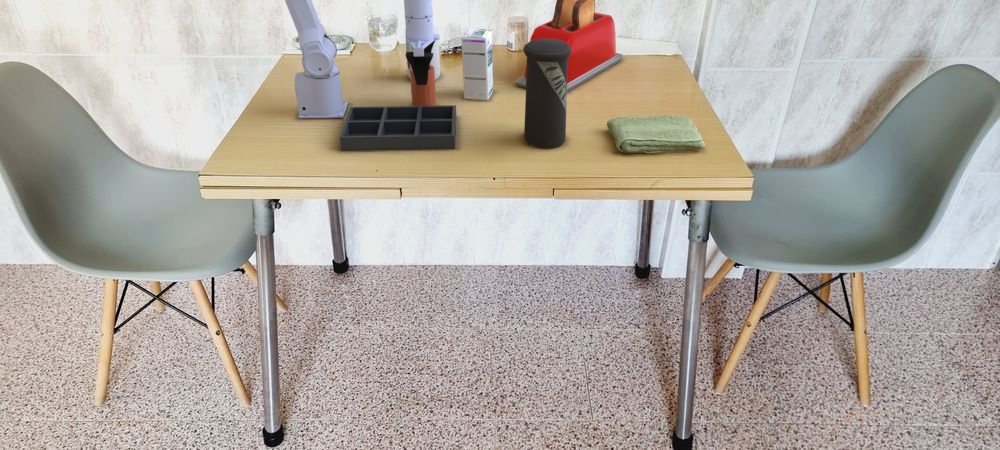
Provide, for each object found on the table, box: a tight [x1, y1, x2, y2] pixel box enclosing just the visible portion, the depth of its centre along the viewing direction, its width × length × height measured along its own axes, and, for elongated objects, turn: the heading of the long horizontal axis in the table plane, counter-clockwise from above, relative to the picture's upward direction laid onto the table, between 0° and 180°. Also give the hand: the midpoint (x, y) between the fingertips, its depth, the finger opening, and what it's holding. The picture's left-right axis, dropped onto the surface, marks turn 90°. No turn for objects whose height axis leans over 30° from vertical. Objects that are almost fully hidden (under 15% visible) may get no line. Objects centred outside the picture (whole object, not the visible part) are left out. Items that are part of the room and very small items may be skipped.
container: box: [522, 39, 572, 149], centre depth 141 cm, size 9×9×20 cm
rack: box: [338, 104, 457, 152], centre depth 148 cm, size 22×15×3 cm
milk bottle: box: [404, 16, 441, 81], centre depth 170 cm, size 8×8×20 cm
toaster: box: [515, 0, 624, 93], centre depth 173 cm, size 32×13×19 cm, turn 144°
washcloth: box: [606, 114, 706, 155], centre depth 145 cm, size 13×18×3 cm
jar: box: [409, 65, 437, 106], centre depth 158 cm, size 5×5×9 cm
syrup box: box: [461, 28, 494, 101], centre depth 162 cm, size 6×6×14 cm
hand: (422, 78), depth 156 cm, fingers open, 7 cm apart
